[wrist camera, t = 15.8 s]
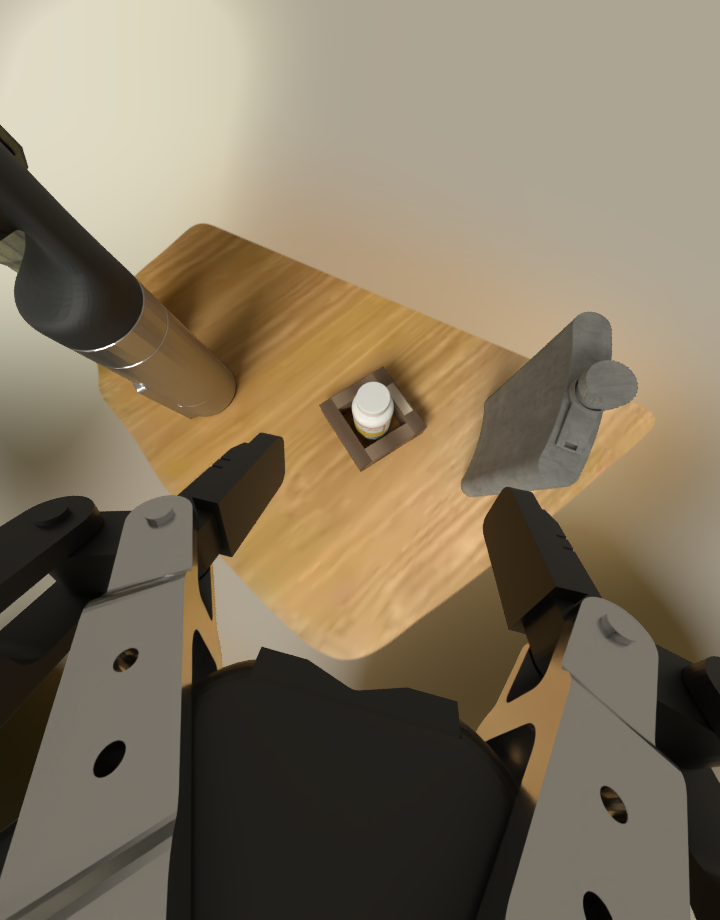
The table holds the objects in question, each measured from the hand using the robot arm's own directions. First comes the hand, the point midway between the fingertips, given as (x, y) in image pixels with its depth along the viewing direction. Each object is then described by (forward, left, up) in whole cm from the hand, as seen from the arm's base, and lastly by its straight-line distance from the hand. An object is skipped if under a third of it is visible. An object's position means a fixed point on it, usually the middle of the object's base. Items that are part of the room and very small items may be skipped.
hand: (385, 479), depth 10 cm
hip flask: (+18, -2, -28) cm, 34 cm away
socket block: (+6, +10, -28) cm, 31 cm away
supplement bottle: (+6, +10, -28) cm, 31 cm away
